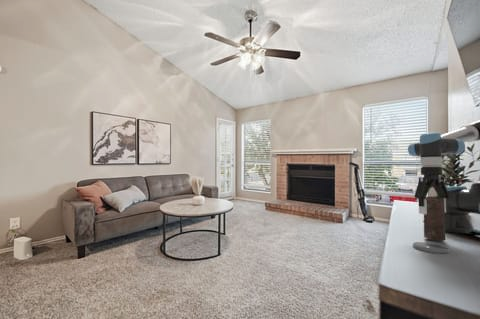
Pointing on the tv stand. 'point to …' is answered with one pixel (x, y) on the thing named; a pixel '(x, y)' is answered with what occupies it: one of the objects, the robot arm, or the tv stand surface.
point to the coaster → (430, 248)
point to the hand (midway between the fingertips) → (432, 213)
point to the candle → (434, 219)
